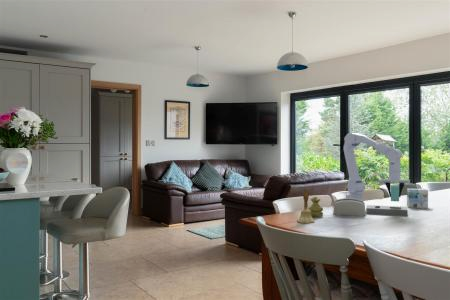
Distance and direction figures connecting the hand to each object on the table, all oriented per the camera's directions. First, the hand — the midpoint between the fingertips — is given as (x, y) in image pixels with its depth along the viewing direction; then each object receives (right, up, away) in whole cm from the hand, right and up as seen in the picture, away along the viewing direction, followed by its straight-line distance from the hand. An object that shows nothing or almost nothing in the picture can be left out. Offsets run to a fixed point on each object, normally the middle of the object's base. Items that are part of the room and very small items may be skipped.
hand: (394, 196), depth 203 cm
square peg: (0, -2, 0) cm, 2 cm away
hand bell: (-52, -10, -20) cm, 56 cm away
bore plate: (-4, -9, +2) cm, 10 cm away
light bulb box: (+23, -9, +22) cm, 34 cm away
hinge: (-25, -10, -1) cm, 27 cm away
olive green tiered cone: (-44, -10, -6) cm, 45 cm away
